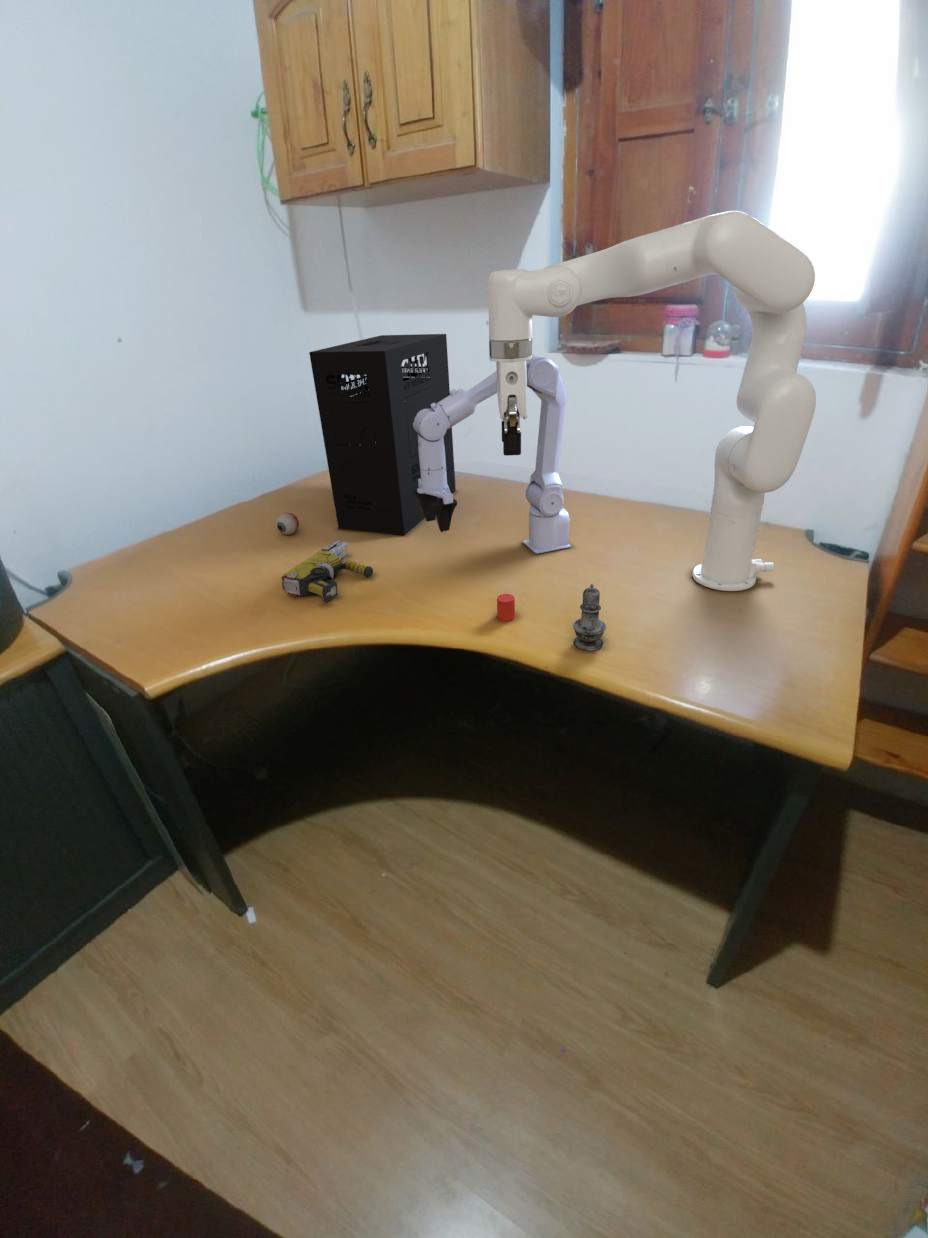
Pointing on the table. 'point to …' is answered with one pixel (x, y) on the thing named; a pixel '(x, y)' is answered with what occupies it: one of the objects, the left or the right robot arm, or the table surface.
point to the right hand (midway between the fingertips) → (511, 447)
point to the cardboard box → (379, 426)
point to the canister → (506, 607)
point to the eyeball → (287, 523)
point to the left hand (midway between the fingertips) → (437, 525)
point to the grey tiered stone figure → (589, 622)
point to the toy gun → (321, 572)
